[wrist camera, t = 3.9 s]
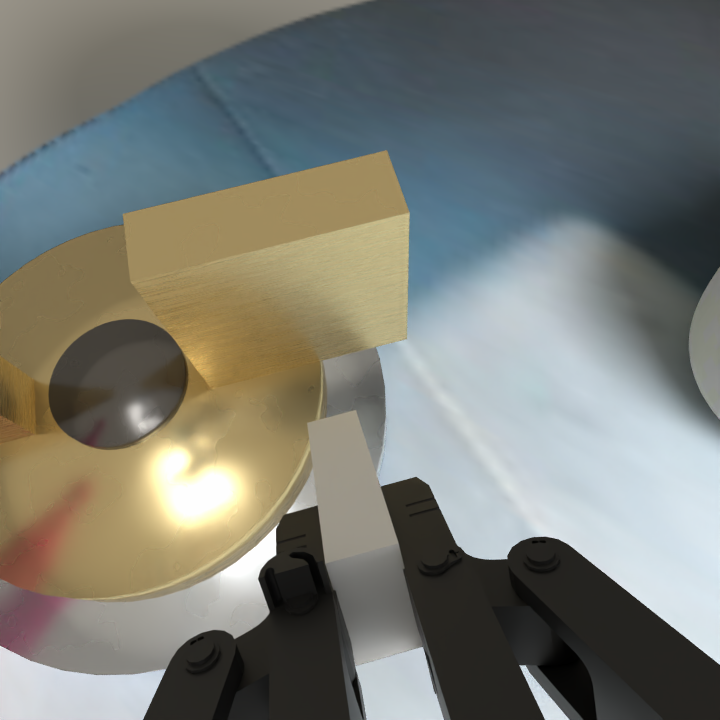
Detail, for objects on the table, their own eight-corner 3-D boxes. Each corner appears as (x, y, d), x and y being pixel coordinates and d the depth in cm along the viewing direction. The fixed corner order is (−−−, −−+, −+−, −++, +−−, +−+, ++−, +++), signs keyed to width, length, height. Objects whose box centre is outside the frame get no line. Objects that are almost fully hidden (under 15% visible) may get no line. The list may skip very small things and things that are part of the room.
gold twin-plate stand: (136, 183, 32) (24, -10, 22) (424, 335, 27) (438, 172, 18) (-147, 479, 26) (-463, 388, 17) (159, 739, 21) (-36, 821, 12)
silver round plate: (141, 179, 35) (130, 159, 33) (469, 351, 29) (473, 335, 27) (-158, 492, 28) (-189, 484, 26) (193, 796, 22) (178, 807, 21)
